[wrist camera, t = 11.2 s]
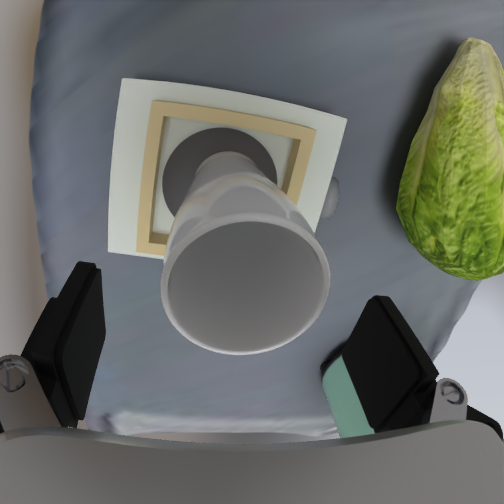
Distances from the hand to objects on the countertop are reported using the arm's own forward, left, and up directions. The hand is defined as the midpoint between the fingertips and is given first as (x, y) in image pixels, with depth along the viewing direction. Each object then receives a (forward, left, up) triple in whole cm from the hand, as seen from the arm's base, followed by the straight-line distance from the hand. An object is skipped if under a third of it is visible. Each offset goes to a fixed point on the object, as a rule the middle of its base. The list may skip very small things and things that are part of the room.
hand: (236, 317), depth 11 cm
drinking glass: (0, +1, -17) cm, 17 cm away
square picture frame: (+1, 0, -21) cm, 21 cm away
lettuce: (-8, +23, -21) cm, 32 cm away
